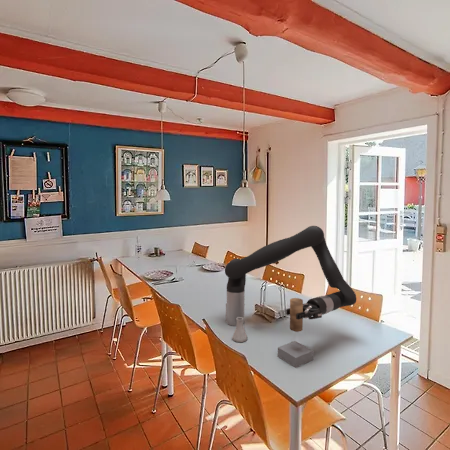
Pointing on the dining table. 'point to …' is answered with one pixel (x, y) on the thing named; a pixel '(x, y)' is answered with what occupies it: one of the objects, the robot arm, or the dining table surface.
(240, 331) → the flask
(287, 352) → the slate plinth
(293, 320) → the walnut cylinder
